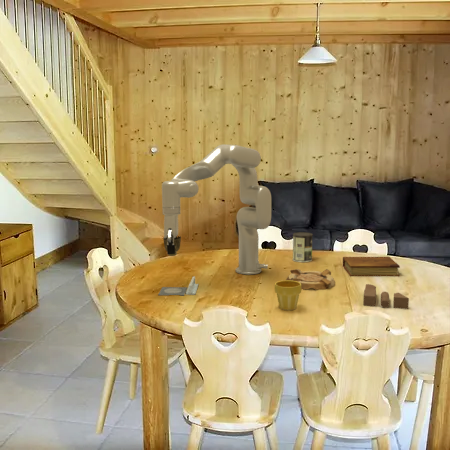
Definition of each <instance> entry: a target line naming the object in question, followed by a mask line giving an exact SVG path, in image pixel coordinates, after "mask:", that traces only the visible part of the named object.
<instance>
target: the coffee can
mask: <svg viewBox="0 0 450 450" xmlns="http://www.w3.org/2000/svg"><path fill="white" fill-rule="evenodd" d="M313 236H314V234H313V233H311V232H306V231H305V232H303V231H299V232H293V233H292V261H293V262H296V263H310V262H312V261H313Z"/></svg>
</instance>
